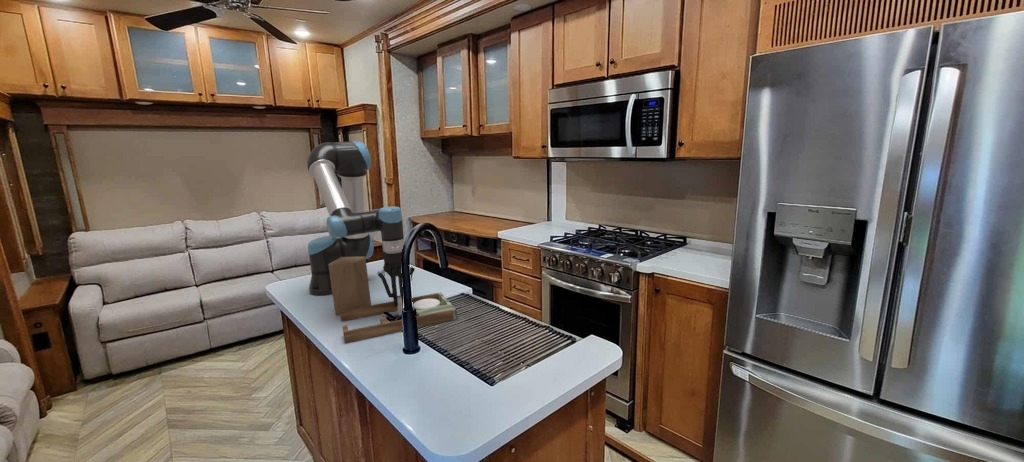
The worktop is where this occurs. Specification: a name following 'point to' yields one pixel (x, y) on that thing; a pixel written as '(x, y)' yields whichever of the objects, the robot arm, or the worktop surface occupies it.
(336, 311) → the wooden block
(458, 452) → the worktop surface
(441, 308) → the open wooden box
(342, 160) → the robot arm
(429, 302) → the coaster
